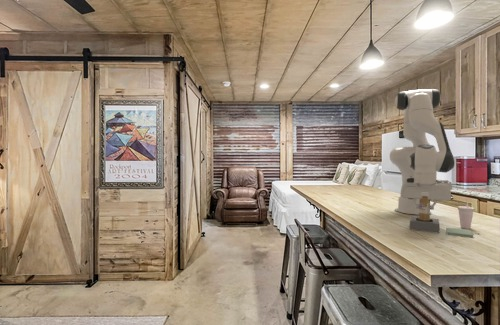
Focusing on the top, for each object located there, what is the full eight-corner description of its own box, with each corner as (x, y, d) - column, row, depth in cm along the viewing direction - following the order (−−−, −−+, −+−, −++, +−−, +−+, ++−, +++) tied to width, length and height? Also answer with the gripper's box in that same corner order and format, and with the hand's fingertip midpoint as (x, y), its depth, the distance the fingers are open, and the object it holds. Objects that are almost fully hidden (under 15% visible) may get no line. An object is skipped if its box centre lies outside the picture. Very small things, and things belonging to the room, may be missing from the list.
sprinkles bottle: (416, 219, 136) (417, 191, 135) (422, 218, 138) (423, 190, 137) (426, 221, 131) (426, 192, 131) (432, 220, 134) (432, 191, 133)
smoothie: (477, 229, 132) (477, 199, 131) (461, 229, 133) (462, 199, 132) (469, 226, 138) (470, 197, 137) (454, 225, 139) (455, 197, 139)
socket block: (410, 224, 142) (411, 216, 142) (438, 227, 136) (438, 218, 136) (409, 229, 133) (410, 221, 132) (439, 233, 127) (439, 224, 127)
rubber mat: (445, 229, 132) (445, 227, 132) (470, 232, 128) (470, 230, 127) (447, 234, 125) (447, 232, 124) (473, 237, 120) (473, 235, 120)
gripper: (451, 179, 131) (451, 209, 132) (401, 177, 142) (400, 205, 142) (452, 181, 126) (452, 212, 126) (400, 179, 136) (399, 207, 137)
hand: (424, 208), depth 134 cm, fingers closed on sprinkles bottle, 4 cm apart
